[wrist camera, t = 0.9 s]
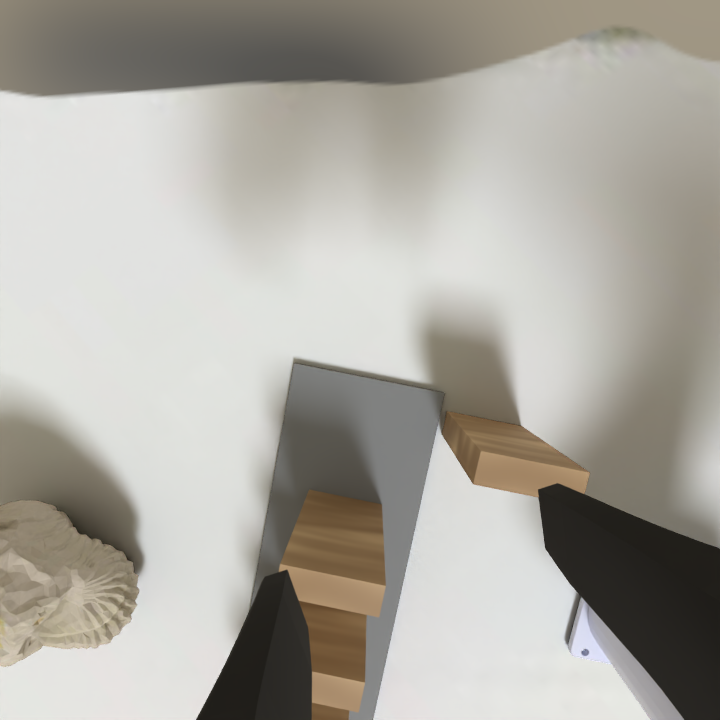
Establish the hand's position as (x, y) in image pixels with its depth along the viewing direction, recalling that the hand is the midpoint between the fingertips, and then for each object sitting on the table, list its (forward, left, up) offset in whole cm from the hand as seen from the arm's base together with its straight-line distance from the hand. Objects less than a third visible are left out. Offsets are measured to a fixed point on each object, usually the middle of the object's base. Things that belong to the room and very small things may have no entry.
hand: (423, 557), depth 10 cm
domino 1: (+2, +7, -15) cm, 16 cm away
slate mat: (+2, +12, -15) cm, 19 cm away
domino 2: (+2, +12, -15) cm, 19 cm away
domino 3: (-6, 0, -15) cm, 16 cm away
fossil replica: (+20, +14, -15) cm, 29 cm away
